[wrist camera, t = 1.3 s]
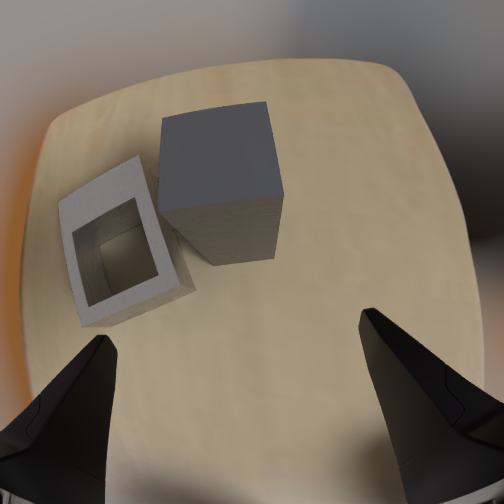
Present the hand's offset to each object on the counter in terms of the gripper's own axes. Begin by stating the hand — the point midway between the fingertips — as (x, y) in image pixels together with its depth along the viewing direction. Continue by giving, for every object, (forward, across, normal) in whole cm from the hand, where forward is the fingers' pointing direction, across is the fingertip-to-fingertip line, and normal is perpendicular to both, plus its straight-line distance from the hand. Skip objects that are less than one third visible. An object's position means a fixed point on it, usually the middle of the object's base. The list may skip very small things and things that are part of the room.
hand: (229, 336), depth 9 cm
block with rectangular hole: (+14, +10, +4) cm, 18 cm away
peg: (+15, 0, +4) cm, 15 cm away
